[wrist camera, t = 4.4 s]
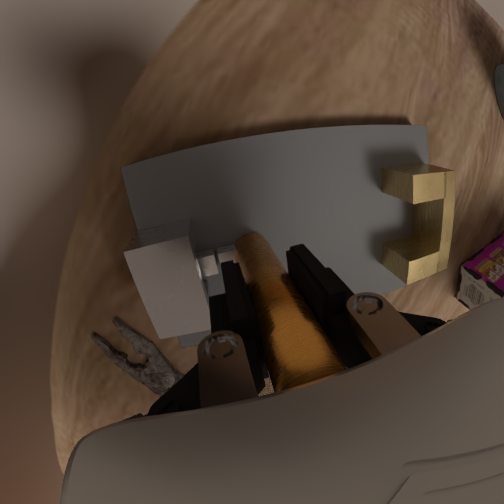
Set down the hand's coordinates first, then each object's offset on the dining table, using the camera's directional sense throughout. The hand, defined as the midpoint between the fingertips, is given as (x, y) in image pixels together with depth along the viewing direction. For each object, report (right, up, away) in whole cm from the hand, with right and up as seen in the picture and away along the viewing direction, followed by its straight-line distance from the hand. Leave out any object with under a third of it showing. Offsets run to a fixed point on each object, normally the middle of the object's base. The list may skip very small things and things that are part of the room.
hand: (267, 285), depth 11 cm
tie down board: (+3, +3, +6) cm, 7 cm away
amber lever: (-3, +1, +3) cm, 5 cm away
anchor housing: (-5, +1, +3) cm, 6 cm away
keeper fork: (+10, +4, +5) cm, 11 cm away
